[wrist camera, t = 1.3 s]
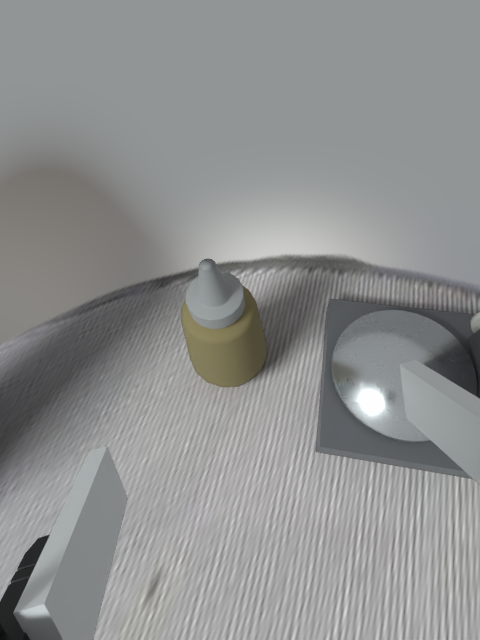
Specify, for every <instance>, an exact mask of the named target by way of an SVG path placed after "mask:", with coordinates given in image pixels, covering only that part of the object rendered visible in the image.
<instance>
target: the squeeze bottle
mask: <svg viewBox="0 0 480 640" xmlns="http://www.w3.org/2000/svg"><path fill="white" fill-rule="evenodd" d="M181 322H182V326H183V330H184V335H185V339H186V343H187V347H188V351H189V356H190V360H191V362H192V364H193V367H194V369H195V371H196V373H197V374H198V375H200V376H201V377H202V378H203V379H204V380H205V381H206V382H208V383H211V384H214V385H217V386H220V387H237V386H240V385H242V384H244V383H246V382H248V381H249V380H251V379H252V378H253V377H254V376H255V375H256V374H257V373H258V372H259V371H260V370H261V368H262V367H263V364H264V361H265V358H266V355H267V348H266V339H265V335H264V331H263V327H262V324H261V320H260V316H259V312H258V308H257V305H256V301H255V299H254V298H253V296H252V294H251V293H250V291H249V290H248V289H246V288H245V287H244V286H242V284H241V283H240V281H239V279H238V278H236V277H235V276H233V275H232V274H231V273H227V272H223V271H220V270H219V268H218V267H217V265H216V263H215V262H214V261H213V260H212V259H204V260H202V261H201V262H200V264H199V274H198V277H196V278H195V279H194V280H193V281H192V282H191V283H190V285H189V287H188V289H187V291H186V299H185V302H184V304H183V306H182V309H181Z"/></svg>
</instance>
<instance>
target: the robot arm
mask: <svg viewBox="0 0 480 640" xmlns="http://www.w3.org/2000/svg"><path fill="white" fill-rule="evenodd" d="M400 372H401V380H402V388H403V396H404V404H405V412H406V418H407V419H408V420H409V421H410V422H411V423H412V424H413V425H414V426H416V427H417V428H418V429H419V430H420V431H421V432H422V433H423V434H424V435H425V436H427V437H428V438H429V439H430V440H431V441H432V442H433V443H434V444H435V445H436V446H438V447H439V448H440V449H441V450H442V451H443V452H444V453H445V454H446V455H447V456H449V457H450V458H451V459H452V460H453V461H454V462H455V463H456V464H457V465H458V466H460V467H461V468H462V469H463V470H464V471H465V472H466V473H467V474H468V475H469V476H471V477H472V478H473V479H474V480H475V481H476V482H477V483H478V484H479V485H480V399H479V398H478V397H476V396H474V395H473V394H471V393H470V392H468V391H466V390H465V389H463V388H461V387H460V386H458V385H456V384H455V383H453V382H451V381H450V380H448V379H446V378H445V377H443V376H442V375H440V374H438V373H437V372H435V371H433V370H432V369H430V368H428V367H427V366H425V365H423V364H422V363H420V362H418V361H417V360H414V361H410V362H407V363H403V364H400ZM127 500H128V497H127V495H126V492H125V490H124V487H123V485H122V482H121V480H120V477H119V475H118V472H117V470H116V467H115V464H114V462H113V459H112V457H111V454H110V452H109V449H108V447H107V446H106V447H102V448H99V449H95V450H92V451H89V453H88V455H87V457H86V459H85V461H84V464H83V466H82V468H81V470H80V472H79V474H78V476H77V478H76V481H75V483H74V485H73V487H72V489H71V491H70V493H69V495H68V498H67V500H66V502H65V504H64V506H63V508H62V510H61V512H60V515H59V517H58V519H57V521H56V523H55V525H54V527H53V529H52V532H51V534H50V535H48V536H44V537H41V538H38V539H37V540H36V542H35V543H34V544H33V545H32V546H31V547H30V549H29V550H28V551H27V552H26V553H25V555H24V557H23V559H22V561H21V563H20V565H19V567H18V571H17V572H15V574H14V576H13V578H12V580H11V584H10V585H9V586H8V588H7V590H6V592H5V594H4V596H3V598H2V599H1V601H0V640H93V638H94V634H95V630H96V625H97V621H98V617H99V613H100V609H101V605H102V601H103V597H104V593H105V589H106V585H107V581H108V577H109V573H110V569H111V565H112V561H113V557H114V553H115V549H116V545H117V541H118V536H119V532H120V528H121V524H122V520H123V516H124V512H125V508H126V504H127Z"/></svg>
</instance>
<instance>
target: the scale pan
mask: <svg viewBox="0 0 480 640" xmlns="http://www.w3.org/2000/svg"><path fill="white" fill-rule="evenodd" d="M414 360H417V361H418V362H420V363H422V364H423V365H425V366H427V367H428V368H430V369H432V370H433V371H435V372H437V373H438V374H440V375H442V376H443V377H445V378H446V379H448V380H450V381H451V382H453V383H455V384H456V385H458V386H460V387H461V388H463V389H465V390H466V391H468V392H470V393H471V394H473V395H474V396H476V397H477V377H476V372H475V369H474V366H473V363H472V361H471V359H470V357H469V355H468V353H467V351H466V350H465V348H464V347H463V346H462V344H461V343H460V342H459V341H458V340H457V338H456V337H455V336H453V335H452V334H451V333H450V332H449V331H448V330H447V329H445V328H444V327H443V326H441V325H440V324H438V323H436V322H435V321H433V320H431V319H429V318H427V317H424V316H422V315H419V314H416V313H412V312H408V311H402V310H382V311H377V312H373V313H369V314H367V315H364V316H362V317H360V318H358V319H357V320H355V321H354V322H353V323H351V324H350V325H349V326H348V327H347V328H346V329H345V330H344V331H343V333H342V334H341V336H340V337H339V339H338V341H337V343H336V346H335V348H334V352H333V355H332V362H331V373H332V380H333V384H334V387H335V390H336V392H337V394H338V397H339V398H340V400H341V402H342V403H343V405H344V406H345V408H346V409H347V410H348V411H349V413H350V414H351V415H352V416H353V417H354V418H355V419H356V420H357V421H359V422H360V423H361V424H362V425H363V426H365V427H367V428H368V429H370V430H371V431H373V432H375V433H377V434H379V435H381V436H383V437H386V438H389V439H392V440H397V441H401V442H410V443H415V442H426V441H431V440H430V439H429V438H428V437H427V436H425V435H424V434H423V433H422V432H421V431H420V430H419V429H418V428H417V427H416V426H414V425H413V424H412V423H411V422H410V421H409V420H408V419H407V418H406V412H405V404H404V396H403V388H402V380H401V372H400V364H403V363H407V362H410V361H414Z"/></svg>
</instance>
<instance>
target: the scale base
mask: <svg viewBox="0 0 480 640" xmlns="http://www.w3.org/2000/svg"><path fill="white" fill-rule="evenodd" d="M382 310H402V311H408V312H412V313H416V314H419V315H422V316H424V317H427V318H429V319H431V320H433V321H435V322H436V323H438V324H440V325H441V326H443V327H444V328H445V329H447V330H448V331H449V332H450V333H451V334H452V335H453V336H455V337H456V338H457V340H458V341H459V342H460V343H461V344H462V346H463V347H464V348H465V350H466V351H467V353H468V355H469V357H470V359H471V361H472V363H473V366H474V369H475V372H476V377H477V397H478V398H479V399H480V312H478V313H477V314H475V315H474V314H465V313H456V312H446V311H437V310H428V309H419V308H410V307H401V306H392V305H383V304H374V303H364V302H355V301H346V300H337V299H330V301H329V305H328V308H327V312H326V325H325V338H324V351H323V364H322V377H321V390H320V403H319V416H318V429H317V442H316V452H319V453H325V454H331V455H337V456H343V457H348V458H354V459H360V460H366V461H372V462H377V463H383V464H389V465H395V466H401V467H406V468H412V469H418V470H424V471H430V472H435V473H441V474H447V475H453V476H459V477H464V478H470V479H473V478H472V477H471V476H469V475H468V474H467V473H466V472H465V471H464V470H463V469H462V468H461V467H460V466H458V465H457V464H456V463H455V462H454V461H453V460H452V459H451V458H450V457H449V456H447V455H446V454H445V453H444V452H443V451H442V450H441V449H440V448H439V447H438V446H436V445H435V444H434V443H433V442H432V441H426V442H415V443H410V442H401V441H397V440H392V439H389V438H386V437H383V436H381V435H379V434H377V433H375V432H373V431H371V430H370V429H368V428H367V427H365V426H363V425H362V424H361V423H360V422H359V421H357V420H356V419H355V418H354V417H353V416H352V415H351V414H350V413H349V411H348V410H347V409H346V408H345V406H344V405H343V403H342V402H341V400H340V398H339V397H338V394H337V392H336V390H335V387H334V384H333V380H332V373H331V362H332V355H333V352H334V348H335V346H336V343H337V341H338V339H339V337H340V336H341V334H342V333H343V331H344V330H345V329H346V328H347V327H348V326H349V325H350V324H351V323H353V322H354V321H355V320H357V319H358V318H360V317H362V316H364V315H367V314H369V313H373V312H377V311H382Z"/></svg>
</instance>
